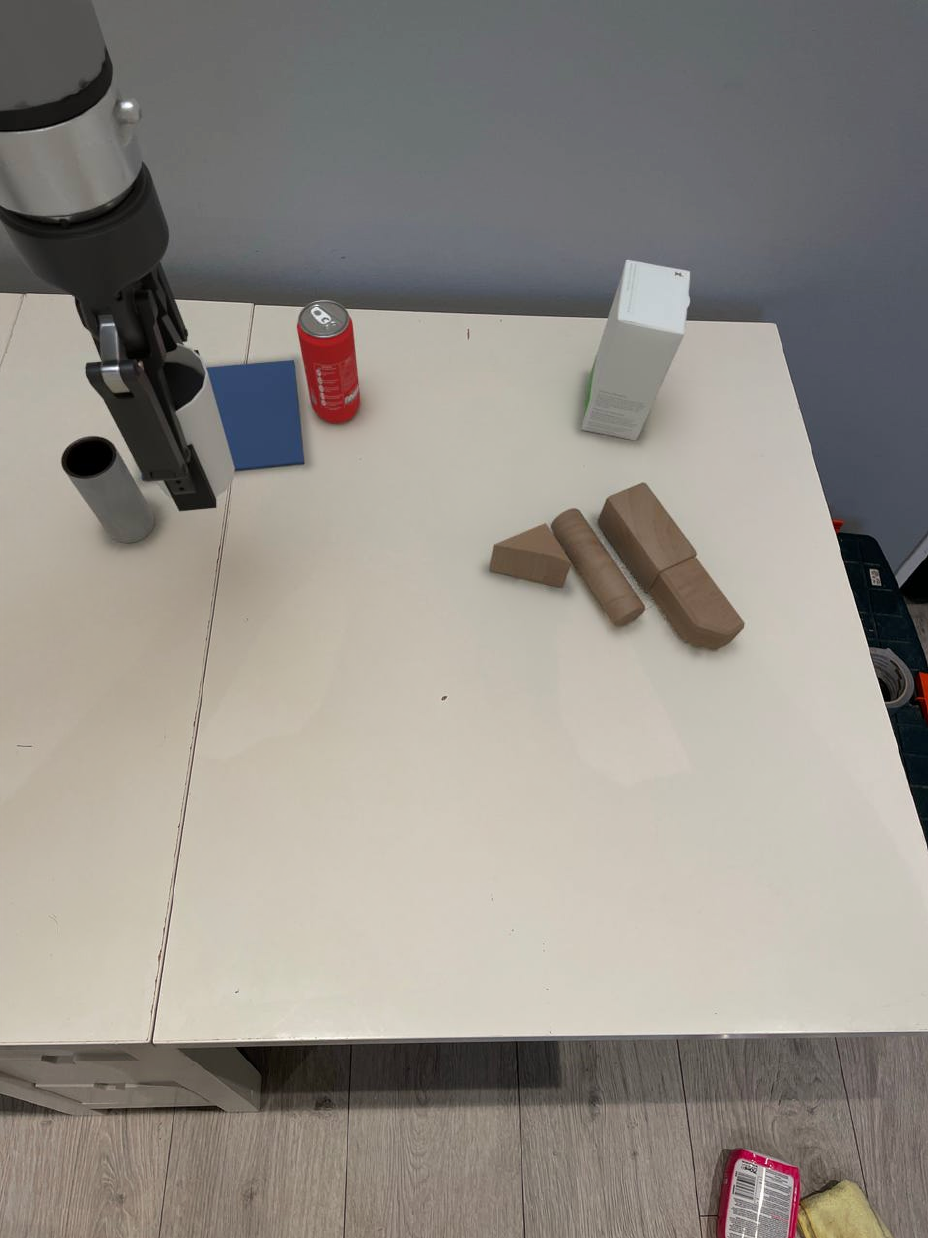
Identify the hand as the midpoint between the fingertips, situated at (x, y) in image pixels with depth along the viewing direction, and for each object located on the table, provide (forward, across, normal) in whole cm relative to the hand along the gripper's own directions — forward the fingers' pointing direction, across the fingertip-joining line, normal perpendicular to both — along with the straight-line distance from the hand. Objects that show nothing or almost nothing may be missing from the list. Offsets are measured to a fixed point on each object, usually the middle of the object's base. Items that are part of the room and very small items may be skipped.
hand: (197, 470), depth 56 cm
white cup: (0, 0, 0) cm, 0 cm away
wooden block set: (+15, -8, -34) cm, 38 cm away
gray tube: (+15, +6, +10) cm, 19 cm away
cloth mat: (+15, +18, +2) cm, 24 cm away
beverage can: (+15, +18, -10) cm, 26 cm away
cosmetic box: (+15, +15, -41) cm, 46 cm away
